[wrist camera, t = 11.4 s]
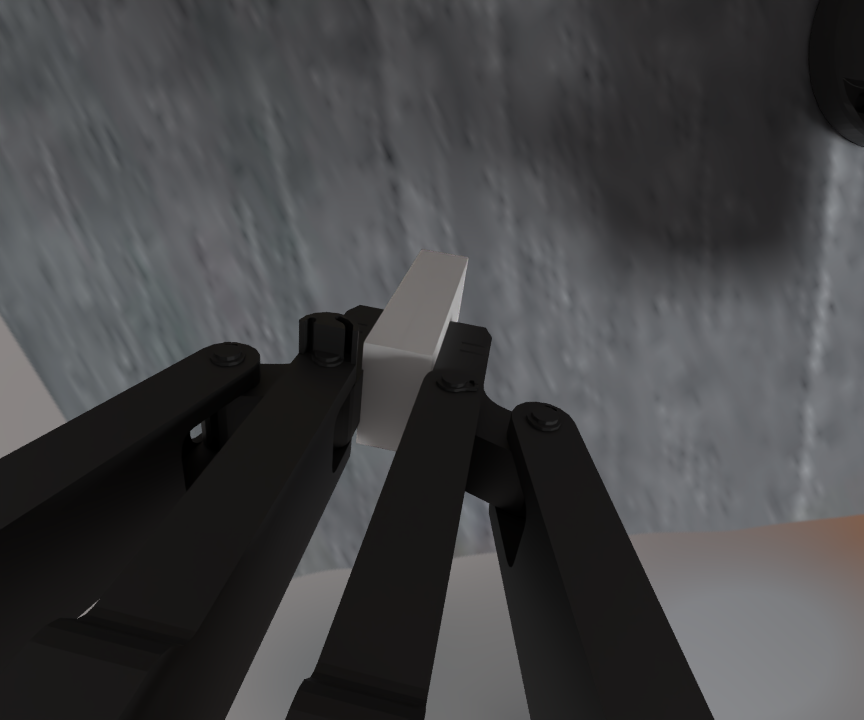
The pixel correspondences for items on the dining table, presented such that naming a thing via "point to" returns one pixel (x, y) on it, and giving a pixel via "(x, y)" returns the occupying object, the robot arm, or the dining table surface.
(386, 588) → the robot arm
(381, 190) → the dining table surface
